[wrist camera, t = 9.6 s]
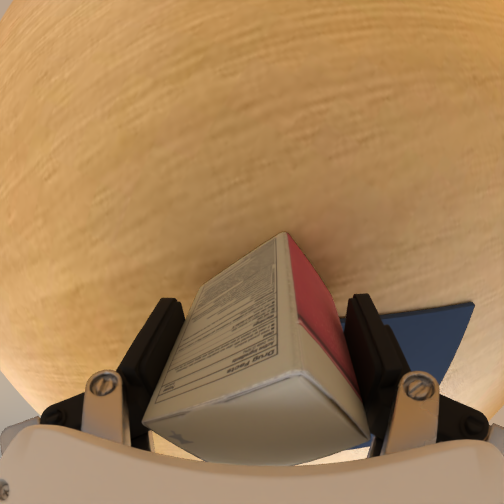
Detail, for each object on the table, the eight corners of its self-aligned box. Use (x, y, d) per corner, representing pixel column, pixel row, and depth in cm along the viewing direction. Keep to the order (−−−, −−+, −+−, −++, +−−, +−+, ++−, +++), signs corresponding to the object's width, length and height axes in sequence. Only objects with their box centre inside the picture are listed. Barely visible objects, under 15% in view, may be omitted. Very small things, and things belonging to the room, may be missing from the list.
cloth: (472, 301, 13) (475, 304, 12) (404, 435, 19) (405, 438, 18) (323, 319, 14) (324, 324, 13) (305, 450, 20) (305, 454, 19)
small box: (251, 341, 14) (235, 479, 7) (197, 284, 13) (134, 425, 6) (335, 296, 13) (377, 443, 6) (286, 225, 12) (302, 371, 4)
